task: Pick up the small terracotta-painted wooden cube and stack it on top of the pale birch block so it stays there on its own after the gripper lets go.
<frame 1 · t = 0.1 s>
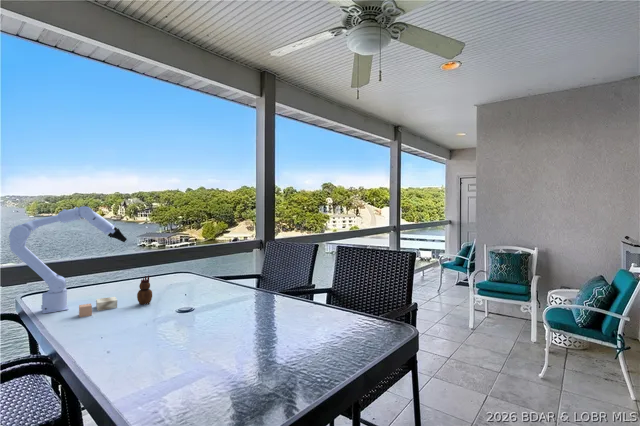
hand: (124, 240, 172), 32 cm above the table, tool tilted 50°, fingers open, 7 cm apart
birch block: (106, 307, 161), on the table
wooden figurine: (144, 304, 167), on the table
terracotta cube: (85, 315, 149), on the table
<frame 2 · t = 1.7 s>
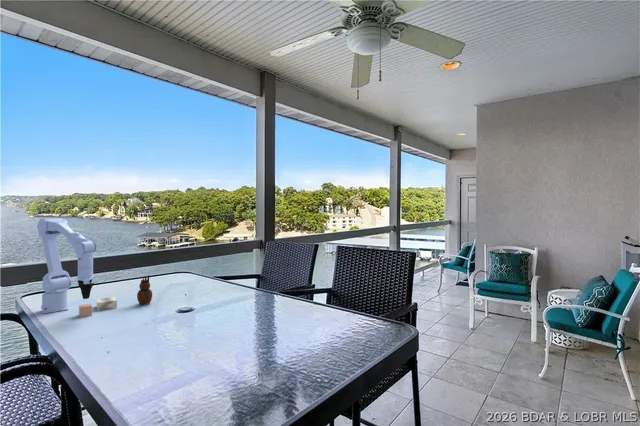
hand: (85, 296, 149), 8 cm above the table, tool pointing down, fingers open, 7 cm apart
nothing on the table moved.
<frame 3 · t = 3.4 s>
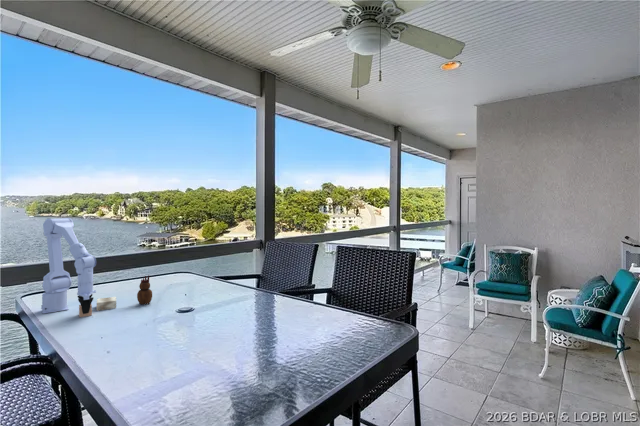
hand: (85, 311, 149), 1 cm above the table, tool pointing down, fingers closed on terracotta cube, 4 cm apart
terracotta cube: (85, 315, 149), on the table, touching gripper
everything else where it was.
when the fingers open (6 cm above the table, at t = 6.5 s): terracotta cube drops 1 cm, resting on birch block.
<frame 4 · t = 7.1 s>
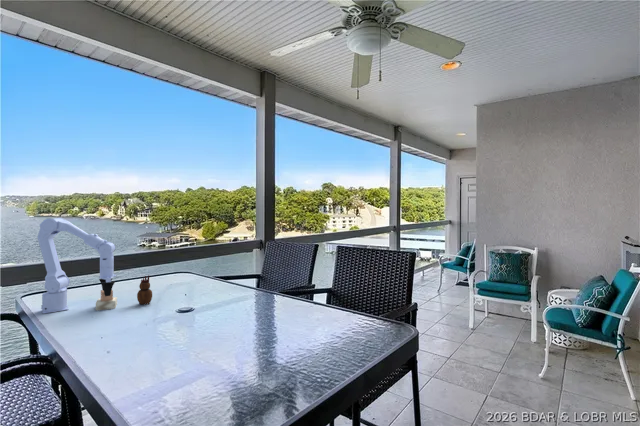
hand: (106, 294, 161), 6 cm above the table, tool pointing down, fingers open, 7 cm apart
birch block: (106, 307, 161), on the table, touching terracotta cube
terracotta cube: (106, 299, 161), point 4 cm above the table, touching birch block
everything else where it was.
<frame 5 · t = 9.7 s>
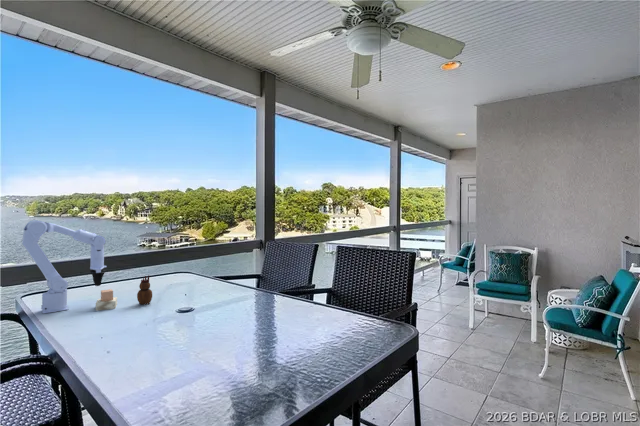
hand: (97, 284, 168), 9 cm above the table, tool pointing down, fingers open, 7 cm apart
nothing on the table moved.
at the end: terracotta cube 0.2 cm off-centre on the birch block, point 4.0 cm above the birch block's base; terracotta cube tilted 0°; the gripper is holding nothing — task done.
